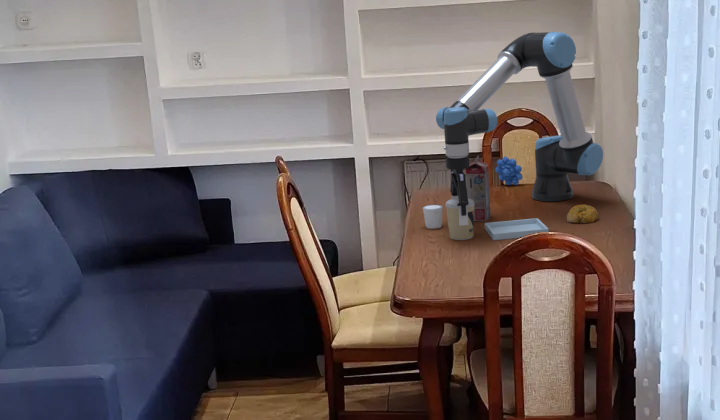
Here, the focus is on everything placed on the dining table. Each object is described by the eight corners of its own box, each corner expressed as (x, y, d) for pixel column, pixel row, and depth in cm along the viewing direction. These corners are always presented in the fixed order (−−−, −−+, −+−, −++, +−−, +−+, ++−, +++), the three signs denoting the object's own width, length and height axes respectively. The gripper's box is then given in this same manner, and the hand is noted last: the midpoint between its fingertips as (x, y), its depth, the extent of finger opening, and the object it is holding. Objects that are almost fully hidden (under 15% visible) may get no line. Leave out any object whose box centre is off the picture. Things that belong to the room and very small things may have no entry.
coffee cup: (475, 240, 273) (473, 204, 270) (446, 241, 275) (444, 205, 272) (476, 232, 282) (475, 197, 279) (448, 233, 284) (446, 198, 281)
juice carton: (490, 215, 301) (487, 155, 296) (487, 220, 295) (484, 159, 290) (472, 215, 304) (469, 155, 298) (468, 220, 297) (465, 159, 292)
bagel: (559, 220, 289) (558, 207, 288) (585, 215, 293) (585, 201, 292) (577, 226, 280) (577, 212, 279) (604, 220, 284) (604, 207, 283)
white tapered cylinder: (422, 224, 297) (421, 205, 295) (441, 223, 298) (440, 203, 296) (425, 229, 290) (424, 210, 289) (445, 227, 291) (444, 208, 289)
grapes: (491, 187, 346) (490, 158, 343) (498, 183, 351) (497, 155, 348) (518, 188, 339) (517, 159, 336) (525, 184, 345) (524, 155, 342)
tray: (537, 224, 286) (537, 218, 285) (548, 235, 272) (548, 228, 272) (484, 229, 285) (484, 223, 285) (493, 240, 272) (493, 234, 271)
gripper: (440, 150, 284) (443, 211, 289) (451, 163, 260) (455, 230, 265) (462, 148, 284) (464, 210, 289) (476, 161, 260) (478, 228, 265)
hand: (460, 219), depth 277 cm, fingers open, 13 cm apart
